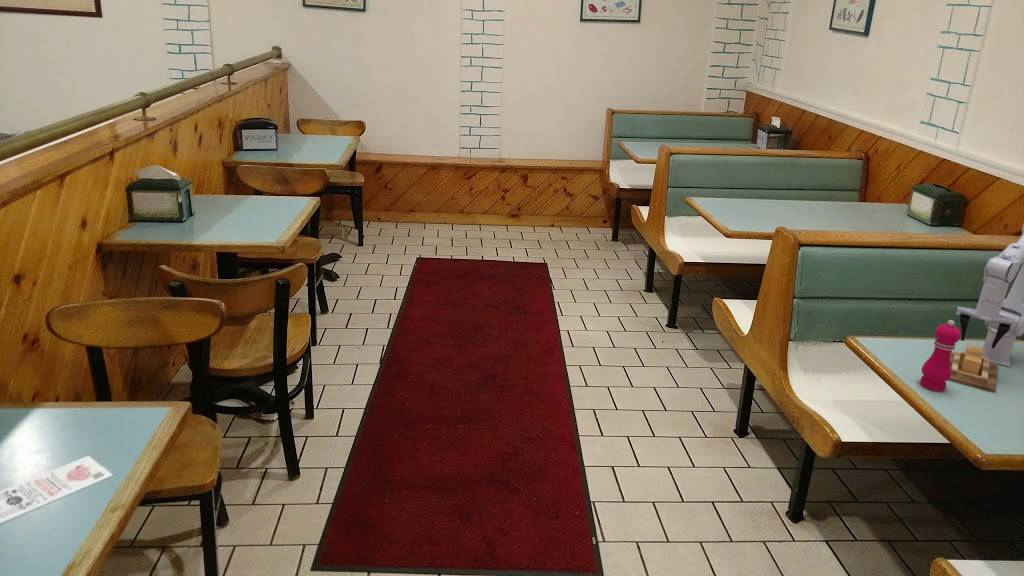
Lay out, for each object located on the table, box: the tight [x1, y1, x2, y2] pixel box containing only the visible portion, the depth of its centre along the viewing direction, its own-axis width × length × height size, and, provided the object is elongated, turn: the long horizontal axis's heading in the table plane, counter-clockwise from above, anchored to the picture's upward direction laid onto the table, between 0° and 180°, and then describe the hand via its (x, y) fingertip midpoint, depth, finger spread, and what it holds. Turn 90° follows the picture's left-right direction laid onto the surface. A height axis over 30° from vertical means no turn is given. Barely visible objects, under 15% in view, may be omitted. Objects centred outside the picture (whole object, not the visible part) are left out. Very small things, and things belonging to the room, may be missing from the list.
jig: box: [948, 350, 999, 394], centre depth 220 cm, size 20×14×2 cm
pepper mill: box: [919, 319, 961, 392], centre depth 208 cm, size 7×7×20 cm
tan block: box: [961, 344, 983, 375], centre depth 220 cm, size 12×4×5 cm, turn 148°
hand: (977, 343), depth 217 cm, fingers open, 7 cm apart
